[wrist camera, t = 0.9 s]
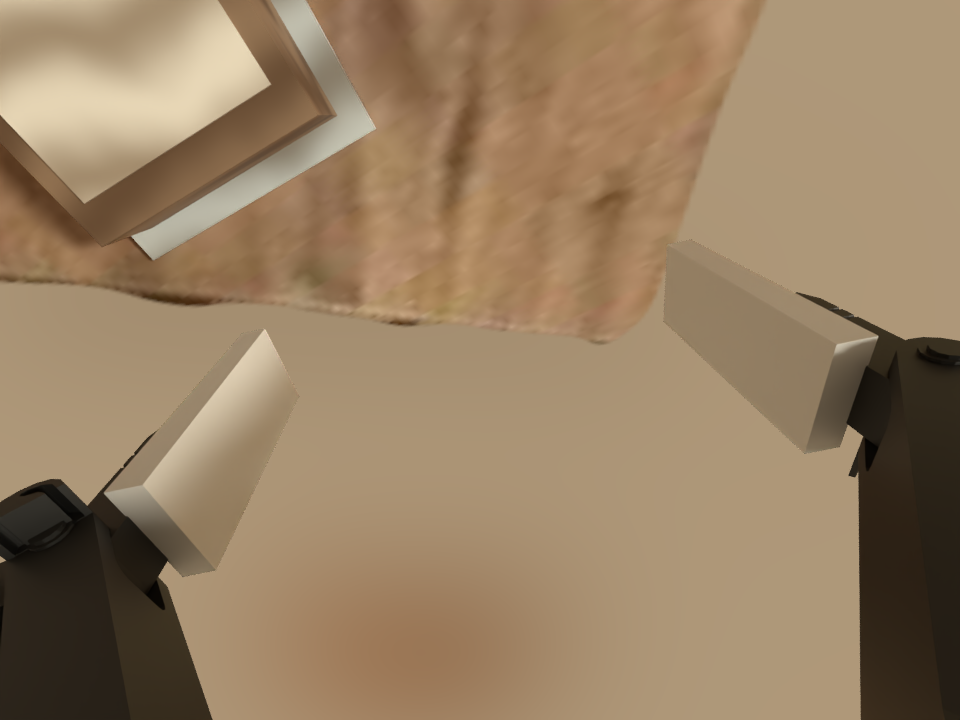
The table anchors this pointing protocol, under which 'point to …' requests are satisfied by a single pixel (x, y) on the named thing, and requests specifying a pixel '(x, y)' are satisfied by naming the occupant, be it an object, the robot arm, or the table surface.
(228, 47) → the plinth
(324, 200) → the table surface
